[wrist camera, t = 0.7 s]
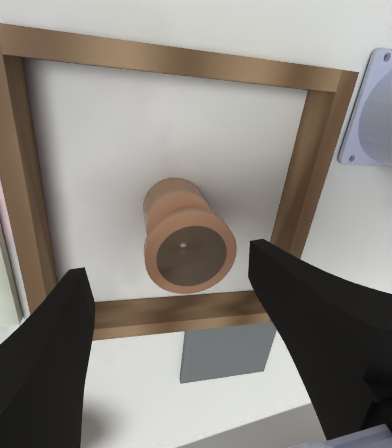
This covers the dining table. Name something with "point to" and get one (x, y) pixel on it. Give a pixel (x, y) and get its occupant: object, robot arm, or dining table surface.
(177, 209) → the terracotta pot
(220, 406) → the dining table surface
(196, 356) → the mat
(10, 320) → the frame
